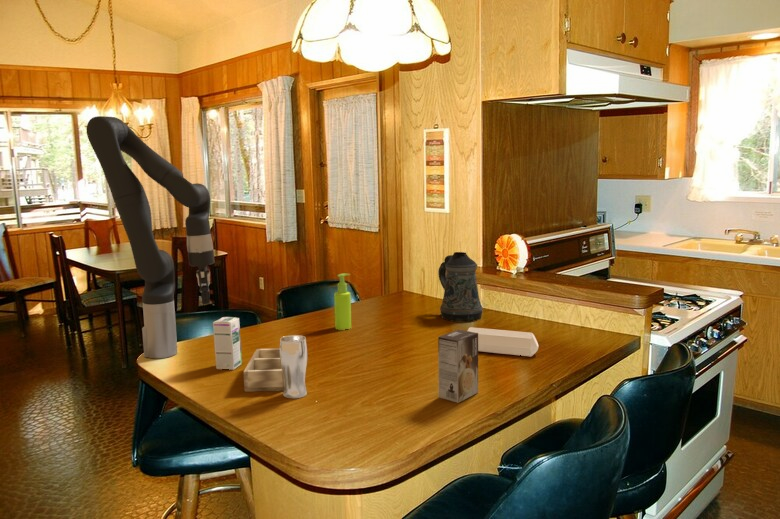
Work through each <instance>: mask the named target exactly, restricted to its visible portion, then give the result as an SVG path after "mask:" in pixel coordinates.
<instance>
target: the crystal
mask: <svg viewBox="0 0 780 519" xmlns="http://www.w3.org/2000/svg"><path fill="white" fill-rule="evenodd" d="M467 331H469V332H475V333H478V352H481V353H482V352H483V353H491V354H492V353H493V354H502V355H510V356H511V355H514V356H520V355H521V356H522V357H530V358H531V357H533V356H534V355H535V354H536V352H538V351H539V343H538V340H537V338H536V336H535V334H534V333H533V332H529V331H518V330H517V331H516V330H505V329H493V328H483V327H473V326H472V327H471V326H470V327H468V329H467Z"/></svg>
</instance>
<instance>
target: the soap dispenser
mask: <svg viewBox="0 0 780 519" xmlns="http://www.w3.org/2000/svg"><path fill="white" fill-rule="evenodd" d="M346 276H351V273H343V272H342V273H339V274H337V277H338V278H339V282H338V283H337V291H335V292H334V294H333V295H334V328H335V330H337V329H338V331H346V330H345V329H349V330H351V329H352V304H351V303H352V302H351V300H352V299H351V296H352V295H351V294H352V293H351V292H350V291H348V283H347V282H346V281H345V277H346ZM350 328H351V329H350Z"/></svg>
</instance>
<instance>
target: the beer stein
mask: <svg viewBox="0 0 780 519" xmlns="http://www.w3.org/2000/svg"><path fill="white" fill-rule="evenodd" d="M477 269H478V264H477V263H476V261H475V260H473V259H472V258H470V257H469V256H468V254H467V252H465V251H464V252H463V251H457V252H456V251H455V252H454V253H453V254H451V255H446V256H445V258H444V261H442V262H441V263H440V266H439V267H438V270H437V271H438V273H437V274H438V278H439V282H440V285H441V286H442V288H443V290H444V291H443V298H442V301H441V305H440V308H439V311H440V315H441V318H442V317H443V318H445V319H444V320H446V319H448V320H447V321H450V320H453V321H452V322H457V321H468V322H474V321H473V320H476V321H478V320H477V319H479V320H481V319H482V315H483V311H484V310H483V309H484V308H483V306H482V303H481V301H480V296H479V290H478V289H479V288H478V282H477V275H476V274H477V273H476V271H477ZM443 318H442V319H443Z"/></svg>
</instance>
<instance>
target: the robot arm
mask: <svg viewBox="0 0 780 519" xmlns="http://www.w3.org/2000/svg"><path fill="white" fill-rule="evenodd" d="M86 136H87V139H88V141H89V143H90V146H91V148H92V150H93V152H94V154H95V156H96V158H97V160H98V162H99V164H100V166H101V169H102V171H103V174H104V177H105V180H106V183H107V184H108V187H109V191H110V193H111V196H112V200H113V203H114V204H115V208H116V210H117V214H118V216H119V218H120V220H121V223H122V226H123V228H124V231H125V233H126V236H127V238H128V241H129V245H130V247H131V248H130V249H131V252H132V257H133V259H134V260H133V261H134V265H135V269H136V270H137V271H136V272H137V274H138V275H139V276H140V278H141V279H142V280H144V289H143V292H142V295H141V298H142V300H141V301H142V311H143V325H144V326H143V327H142V328H141V331H142V343H143V346H142V347H143V357H144V358H149V359H163V358H164V359H165V358H170V357H173V356H176V355H177V354H178V343H177V342H178V341H177V338H178V337H177V324H176V311H175V298H174V297H175V290H176V281H175V264H174V263H175V262H174V260H173V257H172V256H171V254H170V253H168V251H165V250H164V249H159V247H158V245H157V242H156V239H155V236H154V233H153V225H152V224H153V222H152V211H151V207H150V206H151V205H150V202H149V200H148V196H147V193H146V191H145V190H146V189H145V188H144V186H143V184H142V182H141V181H140V179H139V178H138V177H137V176H136V174H135V173H134V172H133V171H132V169H131V168H130V167H129V166H128V164H127V162H126V161H125V159H124V156H123V153H124V154H126V155H128V156H129V157H130V158H132V159H133V160H134V161H135V162H136V164H137V165H138V166H139V167H140V168H141V170H142V171H143V172H144V173H145V174H146V175H147V176H148V177H149V178H150V179H152V180H153V181H154V182H156V183H157V184H158V185H160V186H161V187H162V188H164V189H166V191H168V193H169V194H170V195H171V196H172V197H173V198H174V199H175V201H177V202H178V203H179V204H181V205H182V206H184V207H185V208H188V214H187V217H186V218H185V221H184V222H185V233H186V249H187V257H188V265H189V266H191V267H197V268H198V270H196V271H195V274H196V278H197V284H198V286H199V292H200V295H201V303H202V305H209V304H210V303H211V300H210V297H211V293H210V287H209V286H210V284H211V282H210V281H211V271H210V269H208V266H211V265H213V264H215V253H214V244H213V239H212V233H211V225H210V213H211V212H210V210H211V195H210V192H209V189H208V188H207V187H206V185H204V184H202V183H197V182H196V183H192V182H190V181H189V180H188V179H186V177H184V173H183V172H182V171H181V170H180V169H178V167H176V166H175V165H173V164H172V163H171V162H169V161H168V160H167V159H165V158H164V157H163V156H161V155H160V154H159V153H157V152H156V151H154V150H153V149H152V148H151V147H149V145H148V144H147V143H146V142H144V141H143V140H142V139H141V138H140V137H139V136H138V135H137V134H136V133H135V132H134V131H133V130H132V129H131V128H130V127H129V125H128V124H126V123H125V122H124V121H123V120H121V119H120V118H118V117H116V116H115V117H114V116H106V115H104V116H103V115H101V116H100V115H98V116H93V117H92V118H91V119H89V121H88V122H87V124H86ZM122 152H123V153H122Z"/></svg>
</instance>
